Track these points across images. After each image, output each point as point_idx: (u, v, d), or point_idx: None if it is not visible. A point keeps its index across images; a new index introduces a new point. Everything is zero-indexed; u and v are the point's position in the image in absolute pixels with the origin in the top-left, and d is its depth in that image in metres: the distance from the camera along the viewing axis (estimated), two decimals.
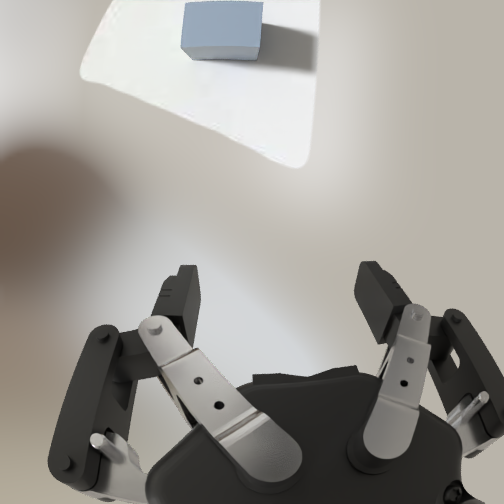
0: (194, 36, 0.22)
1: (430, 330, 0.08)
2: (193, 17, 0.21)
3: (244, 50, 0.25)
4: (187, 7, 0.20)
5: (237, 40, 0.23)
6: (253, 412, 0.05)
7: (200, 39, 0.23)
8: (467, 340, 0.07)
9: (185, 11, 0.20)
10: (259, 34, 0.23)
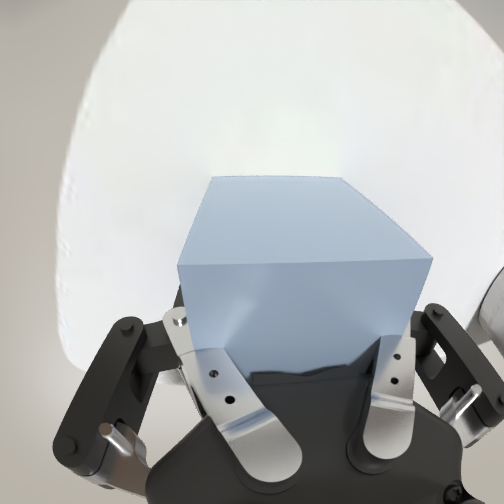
0: (242, 315, 0.07)
1: (410, 324, 0.09)
2: (349, 300, 0.07)
3: None
4: (409, 269, 0.06)
5: None
6: (262, 410, 0.05)
7: (224, 335, 0.07)
8: (451, 334, 0.07)
9: (392, 264, 0.06)
10: None
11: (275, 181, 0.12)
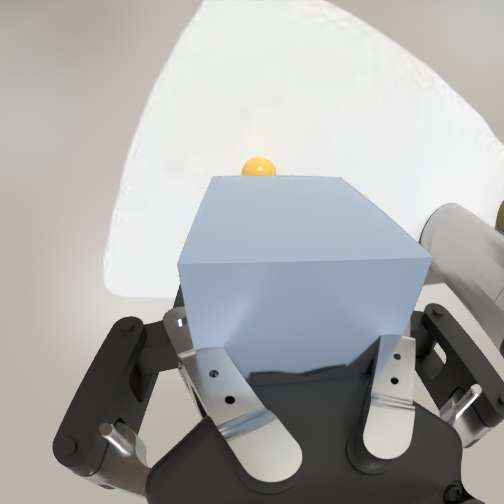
0: (242, 313, 0.07)
1: (410, 324, 0.09)
2: (349, 299, 0.07)
3: None
4: (408, 268, 0.06)
5: None
6: (262, 410, 0.05)
7: (224, 334, 0.07)
8: (451, 334, 0.07)
9: (392, 263, 0.06)
10: None
11: (275, 181, 0.12)
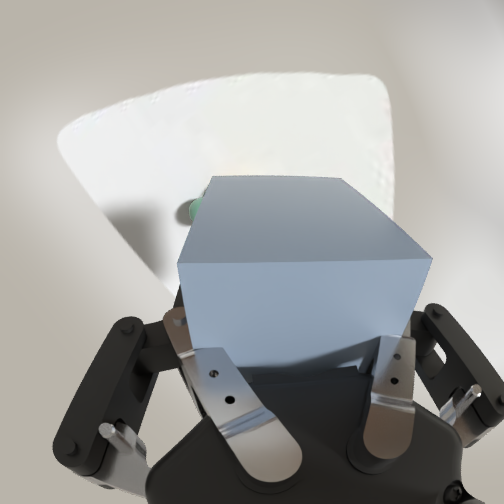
0: (242, 313, 0.07)
1: (410, 324, 0.09)
2: (348, 299, 0.07)
3: None
4: (408, 269, 0.06)
5: None
6: (262, 410, 0.05)
7: (224, 334, 0.07)
8: (451, 334, 0.07)
9: (392, 264, 0.06)
10: None
11: (275, 181, 0.12)
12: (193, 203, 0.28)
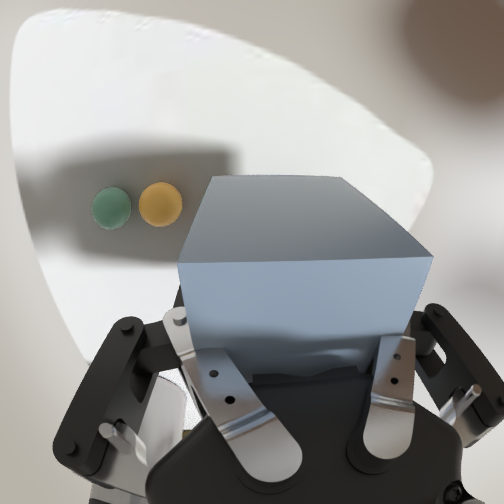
0: (242, 313, 0.07)
1: (410, 324, 0.09)
2: (349, 298, 0.06)
3: None
4: (409, 268, 0.06)
5: None
6: (262, 410, 0.05)
7: (224, 334, 0.07)
8: (451, 334, 0.07)
9: (392, 262, 0.06)
10: None
11: (275, 180, 0.12)
12: (103, 192, 0.16)
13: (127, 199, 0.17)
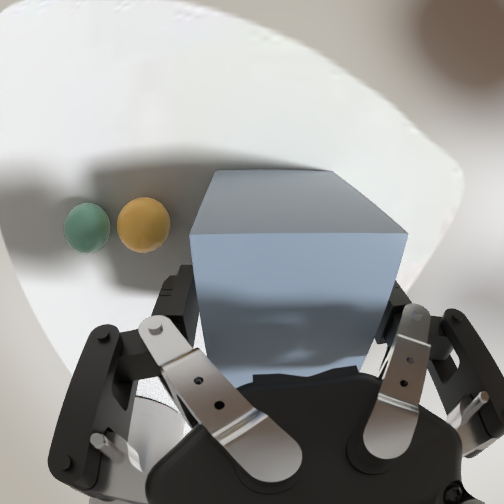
0: (243, 280, 0.08)
1: (430, 330, 0.08)
2: (334, 268, 0.08)
3: None
4: (386, 242, 0.07)
5: (229, 376, 0.10)
6: (253, 412, 0.05)
7: (227, 300, 0.08)
8: (467, 340, 0.07)
9: (370, 237, 0.07)
10: None
11: (272, 173, 0.13)
12: (76, 209, 0.13)
13: (104, 218, 0.14)
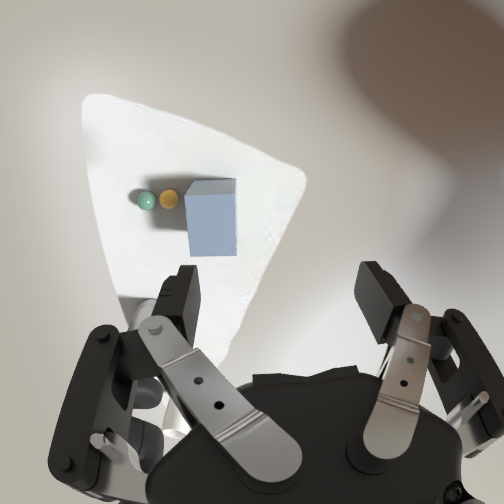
0: (195, 206, 0.34)
1: (430, 330, 0.08)
2: (216, 203, 0.34)
3: None
4: (228, 196, 0.34)
5: (194, 240, 0.36)
6: (253, 412, 0.05)
7: (192, 211, 0.34)
8: (467, 340, 0.07)
9: (224, 195, 0.34)
10: (202, 255, 0.38)
11: (212, 181, 0.39)
12: (143, 193, 0.39)
13: (154, 197, 0.40)
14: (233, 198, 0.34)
